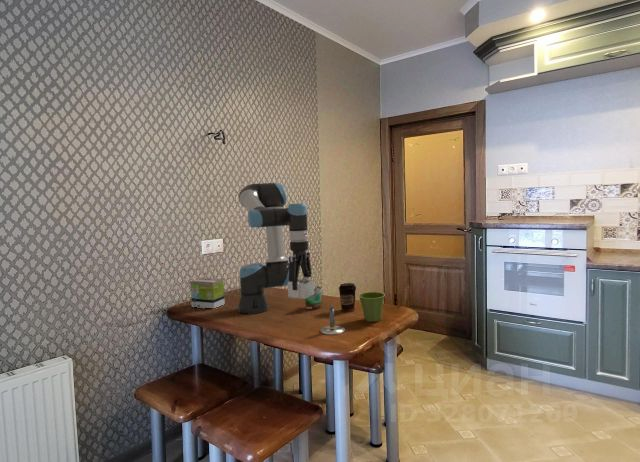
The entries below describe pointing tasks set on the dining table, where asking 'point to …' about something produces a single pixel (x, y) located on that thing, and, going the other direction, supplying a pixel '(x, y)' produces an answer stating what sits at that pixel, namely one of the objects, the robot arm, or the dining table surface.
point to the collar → (302, 288)
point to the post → (332, 325)
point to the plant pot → (372, 305)
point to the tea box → (207, 293)
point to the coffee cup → (347, 296)
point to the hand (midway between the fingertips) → (301, 294)
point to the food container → (314, 299)
